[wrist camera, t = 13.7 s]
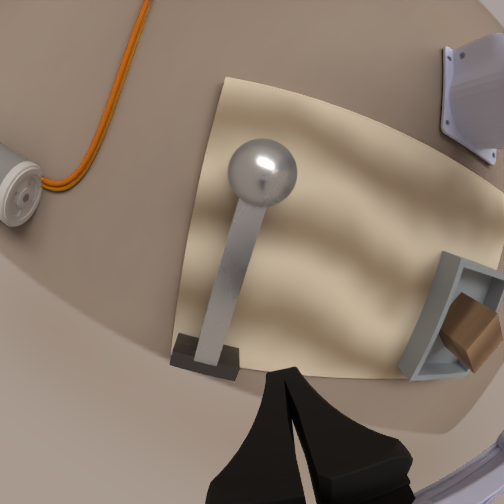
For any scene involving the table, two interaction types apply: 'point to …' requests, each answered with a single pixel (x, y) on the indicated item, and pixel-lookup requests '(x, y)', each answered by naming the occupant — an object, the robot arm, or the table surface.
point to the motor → (31, 175)
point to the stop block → (470, 331)
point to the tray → (434, 312)
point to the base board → (332, 236)
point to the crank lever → (237, 253)
